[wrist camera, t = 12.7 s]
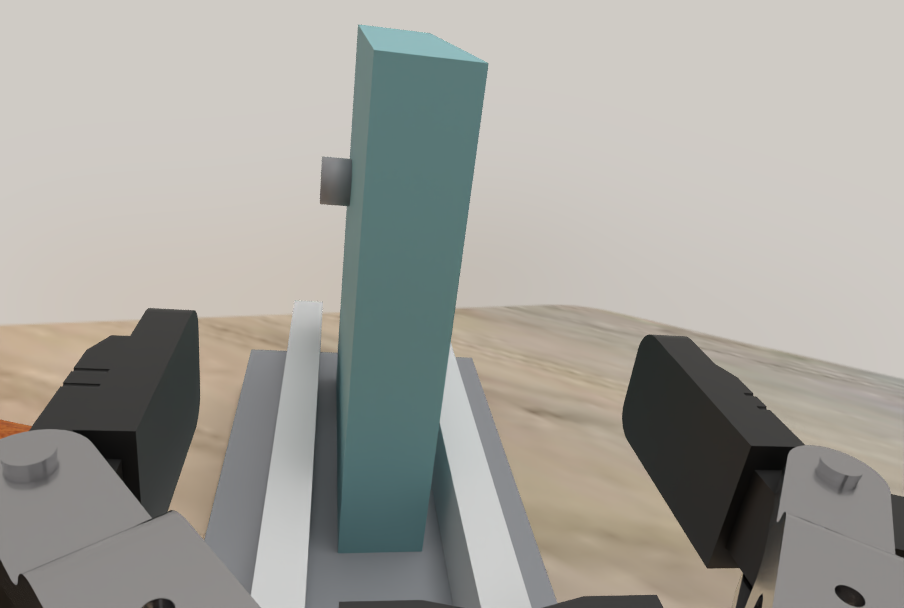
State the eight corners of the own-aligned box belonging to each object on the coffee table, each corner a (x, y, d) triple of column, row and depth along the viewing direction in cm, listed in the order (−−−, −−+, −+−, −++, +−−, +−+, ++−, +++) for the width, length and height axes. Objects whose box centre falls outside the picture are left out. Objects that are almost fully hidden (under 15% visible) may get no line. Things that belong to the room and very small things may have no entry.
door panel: (394, 379, 30) (430, 33, 24) (422, 551, 21) (488, 63, 15) (312, 377, 29) (328, 20, 23) (303, 554, 20) (325, 44, 14)
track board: (466, 394, 33) (479, 309, 31) (698, 1156, 12) (782, 1027, 10) (251, 388, 31) (251, 298, 29) (51, 1278, 10) (7, 1148, 8)
